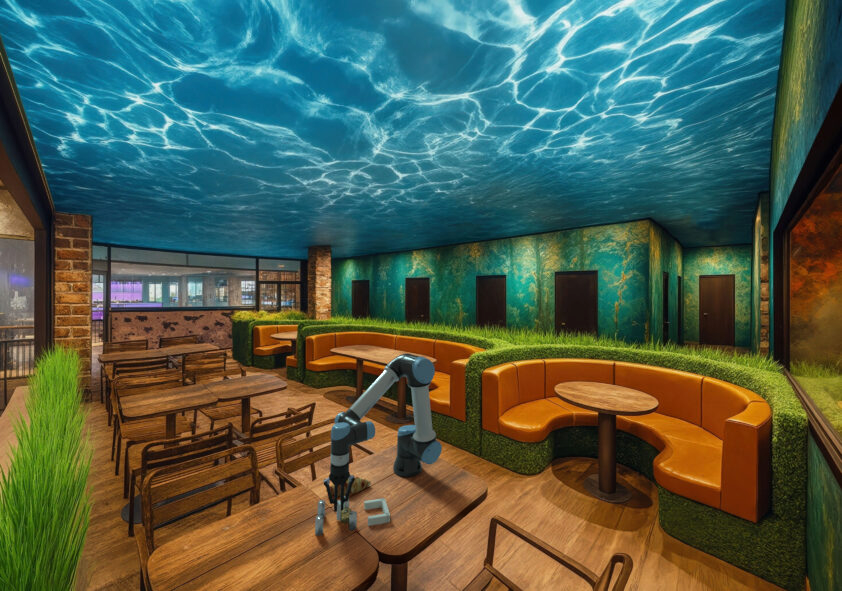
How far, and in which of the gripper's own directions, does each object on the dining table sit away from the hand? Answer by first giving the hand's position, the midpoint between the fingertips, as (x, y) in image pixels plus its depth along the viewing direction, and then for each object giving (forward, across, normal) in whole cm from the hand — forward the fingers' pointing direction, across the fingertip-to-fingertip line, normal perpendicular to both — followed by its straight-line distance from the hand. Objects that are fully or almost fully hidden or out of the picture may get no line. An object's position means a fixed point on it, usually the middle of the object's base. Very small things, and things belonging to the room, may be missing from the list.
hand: (338, 518), depth 143 cm
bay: (+1, +16, 0) cm, 16 cm away
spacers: (+1, -2, 0) cm, 2 cm away
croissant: (+2, +6, +20) cm, 21 cm away
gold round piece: (+1, +3, 0) cm, 3 cm away
